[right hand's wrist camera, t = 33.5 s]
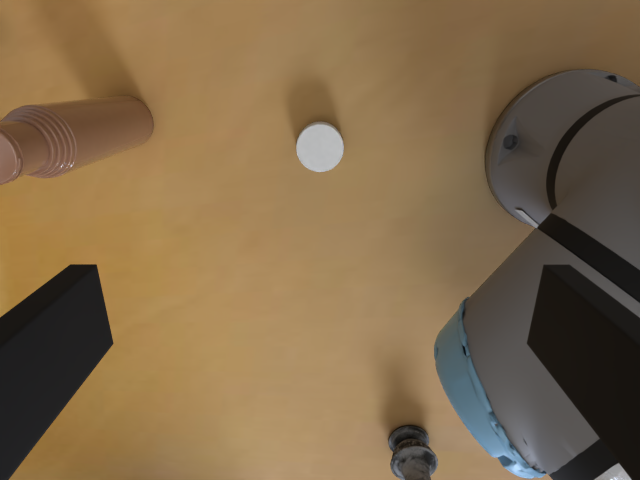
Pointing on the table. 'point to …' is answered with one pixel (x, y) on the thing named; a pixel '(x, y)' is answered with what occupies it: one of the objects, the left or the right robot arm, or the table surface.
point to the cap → (319, 146)
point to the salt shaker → (412, 454)
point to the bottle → (69, 135)
